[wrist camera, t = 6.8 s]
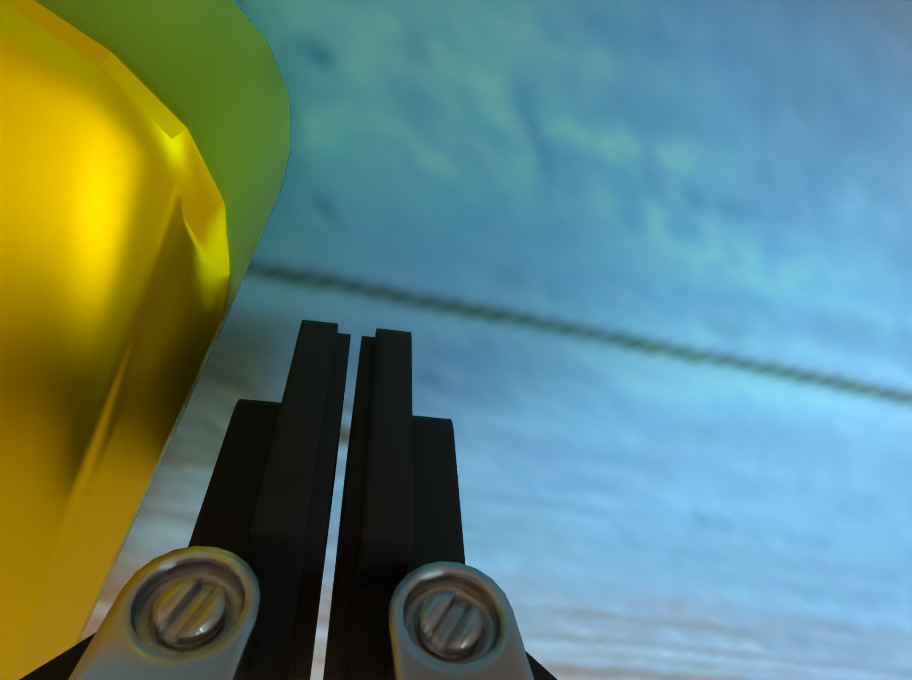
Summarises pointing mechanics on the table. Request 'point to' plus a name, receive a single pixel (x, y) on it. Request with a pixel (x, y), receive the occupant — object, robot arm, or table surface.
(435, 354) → the table surface
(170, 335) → the element tile
